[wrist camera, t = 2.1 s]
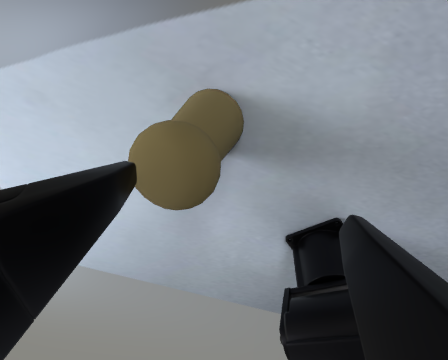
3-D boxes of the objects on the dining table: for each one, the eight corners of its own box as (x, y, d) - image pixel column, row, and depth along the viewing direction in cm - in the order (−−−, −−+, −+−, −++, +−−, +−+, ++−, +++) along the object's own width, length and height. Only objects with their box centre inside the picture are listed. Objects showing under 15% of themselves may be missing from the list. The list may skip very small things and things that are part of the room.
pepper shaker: (253, 140, 20) (240, 214, 11) (199, 159, 22) (149, 234, 13) (228, 76, 18) (184, 100, 8) (170, 104, 20) (84, 148, 11)
